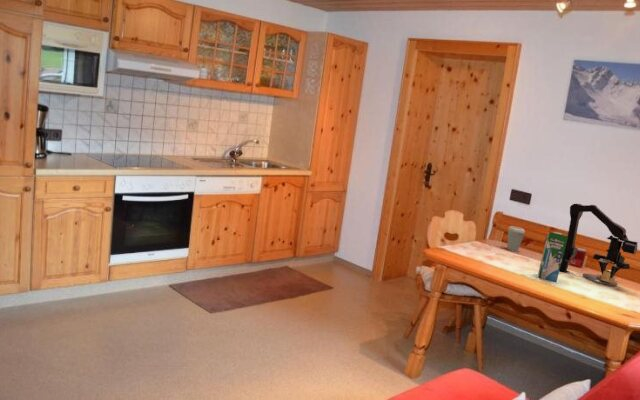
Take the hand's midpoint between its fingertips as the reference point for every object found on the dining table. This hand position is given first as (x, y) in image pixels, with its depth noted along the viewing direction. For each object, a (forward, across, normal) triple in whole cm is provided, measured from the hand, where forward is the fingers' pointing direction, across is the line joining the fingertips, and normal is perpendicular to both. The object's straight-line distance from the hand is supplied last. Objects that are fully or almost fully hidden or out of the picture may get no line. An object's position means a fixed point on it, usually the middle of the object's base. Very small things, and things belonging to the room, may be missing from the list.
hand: (607, 276), depth 315 cm
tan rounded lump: (+2, 0, 0) cm, 2 cm away
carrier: (+5, +6, -4) cm, 8 cm away
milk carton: (+5, +7, +38) cm, 39 cm away
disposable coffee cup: (+5, +64, +5) cm, 65 cm away
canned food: (+5, +35, -20) cm, 40 cm away
